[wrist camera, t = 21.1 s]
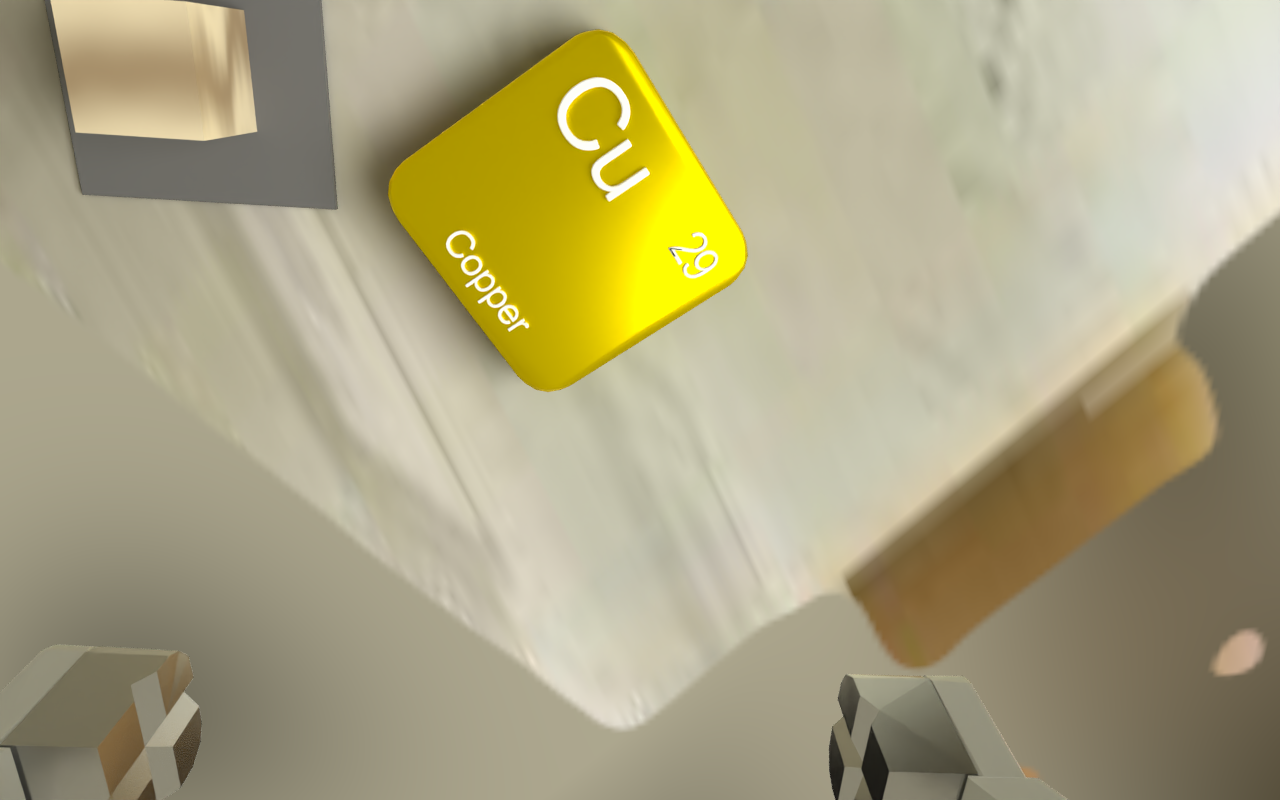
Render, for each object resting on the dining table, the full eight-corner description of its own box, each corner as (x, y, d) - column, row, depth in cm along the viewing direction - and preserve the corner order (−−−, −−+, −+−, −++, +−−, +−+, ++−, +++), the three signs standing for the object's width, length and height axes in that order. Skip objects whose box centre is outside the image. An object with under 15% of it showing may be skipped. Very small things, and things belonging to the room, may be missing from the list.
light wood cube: (125, 1, 42) (48, -9, 36) (243, 10, 42) (186, 1, 36) (144, 124, 44) (75, 132, 38) (257, 131, 44) (204, 140, 39)
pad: (30, -94, 40) (25, -95, 40) (315, -73, 41) (313, -74, 41) (85, 193, 46) (82, 194, 45) (337, 208, 46) (336, 209, 46)
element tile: (391, 175, 46) (366, 186, 41) (610, 15, 43) (608, 9, 39) (545, 380, 51) (538, 410, 46) (751, 249, 48) (764, 268, 44)
